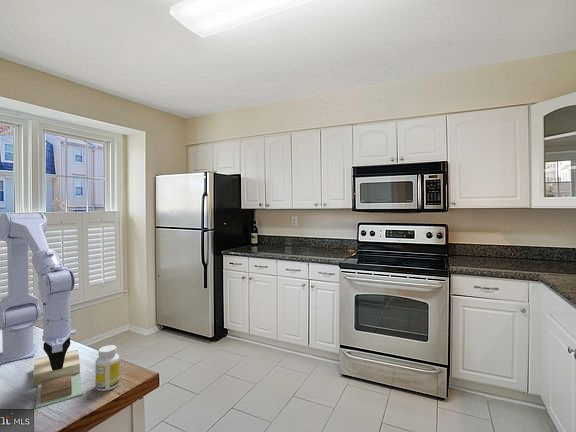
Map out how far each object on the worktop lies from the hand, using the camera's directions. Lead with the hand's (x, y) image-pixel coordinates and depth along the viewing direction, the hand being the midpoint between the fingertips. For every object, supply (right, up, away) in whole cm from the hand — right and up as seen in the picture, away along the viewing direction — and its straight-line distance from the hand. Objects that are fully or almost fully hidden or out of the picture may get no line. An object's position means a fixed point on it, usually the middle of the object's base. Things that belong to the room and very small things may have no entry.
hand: (57, 368), depth 82 cm
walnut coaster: (+3, -2, -5) cm, 6 cm away
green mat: (+3, -4, -3) cm, 6 cm away
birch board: (-4, -3, +5) cm, 7 cm away
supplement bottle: (+13, -4, -1) cm, 14 cm away
